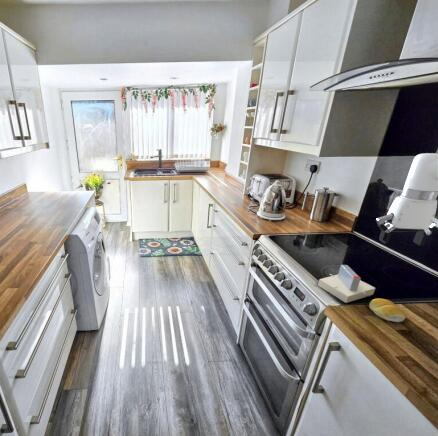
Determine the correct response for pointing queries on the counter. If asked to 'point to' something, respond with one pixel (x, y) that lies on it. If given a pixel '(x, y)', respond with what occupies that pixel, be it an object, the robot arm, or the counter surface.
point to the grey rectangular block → (349, 277)
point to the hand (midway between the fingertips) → (400, 243)
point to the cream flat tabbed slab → (345, 289)
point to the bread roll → (387, 310)
